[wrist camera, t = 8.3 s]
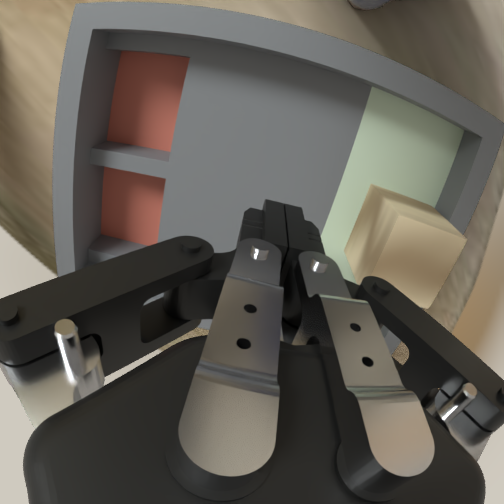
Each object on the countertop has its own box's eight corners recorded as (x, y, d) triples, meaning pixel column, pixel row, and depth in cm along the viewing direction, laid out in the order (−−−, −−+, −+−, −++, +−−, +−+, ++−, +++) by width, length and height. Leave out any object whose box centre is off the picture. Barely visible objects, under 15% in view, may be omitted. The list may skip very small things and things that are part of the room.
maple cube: (370, 183, 17) (399, 214, 13) (431, 206, 18) (467, 239, 14) (343, 250, 20) (361, 294, 16) (403, 266, 20) (428, 308, 16)
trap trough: (111, 14, 15) (75, 3, 11) (467, 113, 17) (506, 125, 13) (86, 255, 23) (59, 288, 20) (373, 321, 26) (387, 360, 22)
